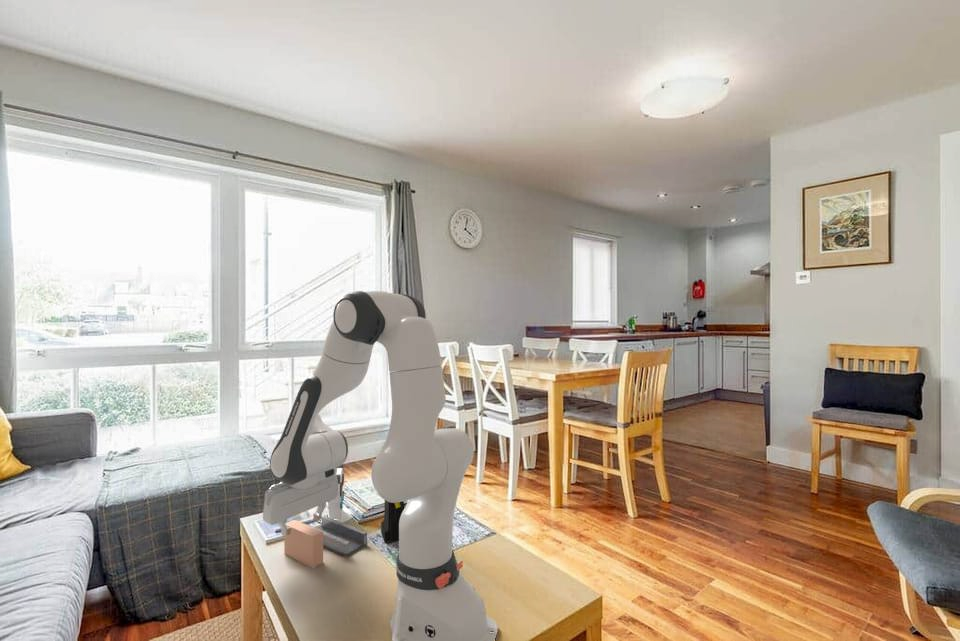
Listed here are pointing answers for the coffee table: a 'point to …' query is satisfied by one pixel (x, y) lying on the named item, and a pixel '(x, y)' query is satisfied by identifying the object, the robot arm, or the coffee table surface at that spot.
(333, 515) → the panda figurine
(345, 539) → the bracket
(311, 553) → the salmon orange rectangular block
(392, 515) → the portable radio
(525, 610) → the coffee table surface
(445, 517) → the robot arm
